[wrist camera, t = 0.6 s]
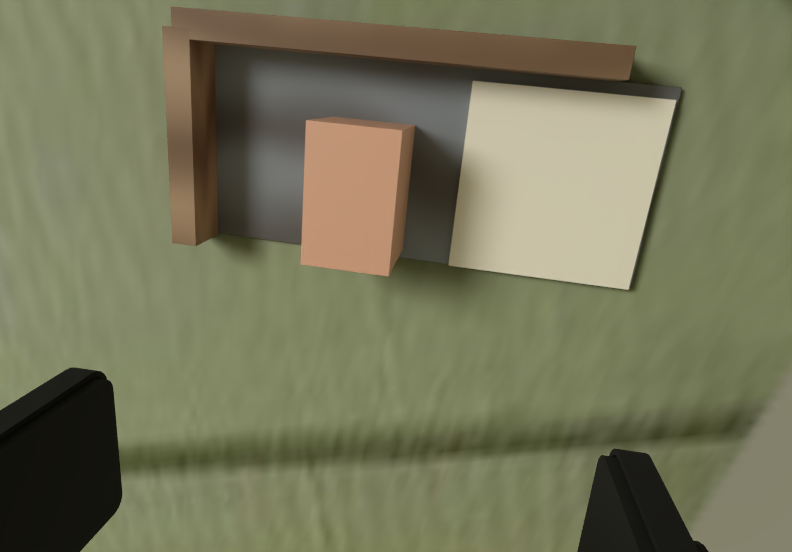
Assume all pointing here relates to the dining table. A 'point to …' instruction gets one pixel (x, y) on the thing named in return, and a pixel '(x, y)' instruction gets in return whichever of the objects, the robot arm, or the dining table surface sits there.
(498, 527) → the dining table surface
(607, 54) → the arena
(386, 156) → the block
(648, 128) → the pad
